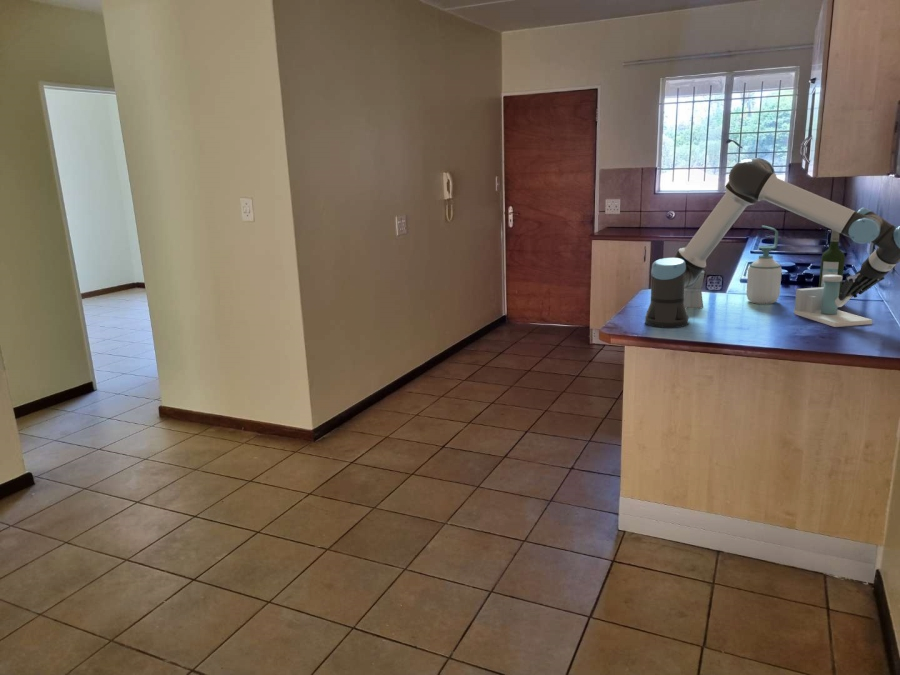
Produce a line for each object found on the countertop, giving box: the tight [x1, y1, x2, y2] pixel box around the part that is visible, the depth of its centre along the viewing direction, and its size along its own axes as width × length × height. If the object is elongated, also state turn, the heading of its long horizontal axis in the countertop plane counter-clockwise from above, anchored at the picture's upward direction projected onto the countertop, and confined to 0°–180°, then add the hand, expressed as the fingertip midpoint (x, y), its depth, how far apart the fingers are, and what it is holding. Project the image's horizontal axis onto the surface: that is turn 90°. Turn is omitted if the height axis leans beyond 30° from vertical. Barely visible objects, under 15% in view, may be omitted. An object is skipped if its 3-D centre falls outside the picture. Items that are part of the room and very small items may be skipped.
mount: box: [793, 286, 873, 328], centre depth 234 cm, size 22×14×10 cm, turn 7°
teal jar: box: [821, 275, 843, 315], centre depth 234 cm, size 6×6×14 cm
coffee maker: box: [684, 268, 707, 309], centre depth 263 cm, size 15×9×18 cm, turn 129°
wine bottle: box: [818, 229, 846, 296], centre depth 255 cm, size 8×8×30 cm
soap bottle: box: [746, 224, 783, 305], centre depth 262 cm, size 12×12×31 cm
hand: (838, 303), depth 231 cm, fingers closed
